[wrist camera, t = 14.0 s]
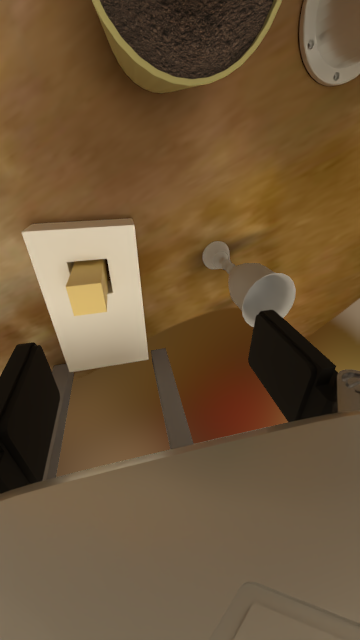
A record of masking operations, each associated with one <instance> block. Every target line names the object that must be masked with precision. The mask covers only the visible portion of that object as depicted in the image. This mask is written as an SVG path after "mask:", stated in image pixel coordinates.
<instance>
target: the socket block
mask: <svg viewBox="0 0 360 640" xmlns="http://www.w3.org/2000/svg"><path fill="white" fill-rule="evenodd" d="M22 235H23V238H24V241H25V244H26V247H27V249H28V252H29V255H30V258H31V261H32V264H33V267H34V270H35V273H36V276H37V279H38V282H39V285H40V287H41V290H42V293H43V296H44V299H45V302H46V305H47V308H48V311H49V314H50V317H51V320H52V323H53V325H54V328H55V331H56V334H57V337H58V340H59V343H60V346H61V349H62V352H63V355H64V358H65V360H66V363H67V366H68V369H69V372H75V371H82V370H88V369H94V368H100V367H106V366H112V365H118V364H124V363H131V362H137V361H143V360H148V359H149V358H148V349H147V339H146V330H145V320H144V311H143V302H142V292H141V283H140V273H139V264H138V255H137V245H136V236H135V226H134V223H133V220H132V218H127V219H109V220H92V221H74V222H56V223H39V224H31V225H30V226H29V227H27V228H26V229H25V230H23V231H22ZM98 259H107V261H108V267H109V273H110V278H111V281H108V294H107V312H102V313H95V314H87V315H79V316H74V314H73V311H72V307H71V304H70V300H69V297H68V293H67V290H66V284H67V282H68V279H69V276H70V274H71V271H72V268H73V265H74V261H86V260H98Z"/></svg>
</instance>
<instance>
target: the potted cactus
mask: <svg viewBox="0 0 360 640" xmlns="http://www.w3.org/2000/svg"><path fill="white" fill-rule="evenodd" d="M281 1H282V0H92V2H93V5H94V7H95V9H96V12H97V14H98V17H99V19H100V22H101V24H102V27H103V29H104V32H105V34H106V37H107V39H108V42H109V44H110V47H111V49H112V52H113V54H114V55H115V57H116V59H117V61H118V64H119V65H120V66H121V68H122V69H123V71H124V72H125V74H126V75H127V76H128V77H129V78H130V79H131V80H132V81H133V82H134V83H135V84H137V85H139V86H140V87H141V88H143V89H146V90H148V91H150V92H156V93H165V92H174V91H178V90H182V89H187V88H191V87H196V86H202V85H205V84H209V83H212V82H214V81H216V80H219V79H222V78H224V77H226V76H227V75H229V74H230V73H231V72H233V71H234V70H236V69H237V68H238V67H240V66H241V65H242V64H243V63H244V62H245V61H246V60H247V59H248V57H249V56H250V55H251V54H252V53H253V52H254V51H255V50H256V49H257V47H258V46H259V44H260V43H261V41H262V39H263V38H264V36H265V35H266V33H267V32H268V30H269V28H270V26H271V24H272V22H273V20H274V17H275V15H276V13H277V11H278V9H279V6H280V4H281Z"/></svg>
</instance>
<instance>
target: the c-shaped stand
mask: <svg viewBox="0 0 360 640" xmlns="http://www.w3.org/2000/svg"><path fill="white" fill-rule="evenodd" d="M151 353H152V362H153V367H154V372H155V377H156V381H157V386H158V391H159V396H160V401H161V406H162V411H163V415H164V420H165V425H166V430H167V435H168V440H169V444H170V449H175V448H180V447H184V446H188V445H192V444H193V441H192V437H191V434H190V431H189V427H188V424H187V420H186V417H185V414H184V410H183V407H182V403H181V400H180V396H179V393H178V390H177V386H176V383H175V379H174V376H173V373H172V369H171V366H170V362H169V359H168V355H167V352H166V349H158V350H152V351H151ZM52 374H53V377H54V379H55V382H56V385H57V387H58V390H59V393H60V402H59V406H58V411H57V416H56V420H55V425H54V430H53V434H52V439H51V443H50V448H49V453H48V457H47V462H46V466H45V471H44V476H43V479H42V481H44V480H48V479H52V478H56V473H57V467H58V462H59V456H60V451H61V444H62V439H63V434H64V428H65V422H66V417H67V411H68V405H69V399H70V394H71V388H72V383H73V377H74V373H73V372H69V369H68V366H67V364H62V365H55V366H54V367H53V371H52Z"/></svg>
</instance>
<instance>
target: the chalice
mask: <svg viewBox="0 0 360 640" xmlns="http://www.w3.org/2000/svg"><path fill="white" fill-rule="evenodd" d="M202 258H203V262H204V264H205V266H207V267H208V268H210V269H221V268H222V269H223V270H226V271H227V273H228V274H229V291H230V295H231V298H232V300H233V301H234V302H235V303H236V305H237V306H238V307H239V308H240V309H241V310H242V312H243V317H244V319H245V321H246V322H247V323H248V324H249V325H250V326H253V327H254V323H255V318H256V315H258V314H259V312H260V311H265V310H274V311H276V312H277V313H278V314H279V315H280V316H281V317H282V318H283V317H284V316H285V315H286V314H287V313H288V312H289V310H290V308H291V307H292V305H293V302H294V299H295V291H296V289H295V286H294V282H293V281H292V280H291V278H290V277H289V276H287V275H285V274H283V273H274V272H273V271H271V270H270V269H268V268H267V267H265V266H263V265H261V264H259V263H245V264H241V265H237V266H235V265H234V264H232V263H231V261H230V260H229V259H230V254H229V248H228V246H227V245H226V244H225V243H224V242H221V241H215V242H212V243H210V244H209V245H208V246H207V247H206V248H205V250H204V252H203V257H202Z"/></svg>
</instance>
